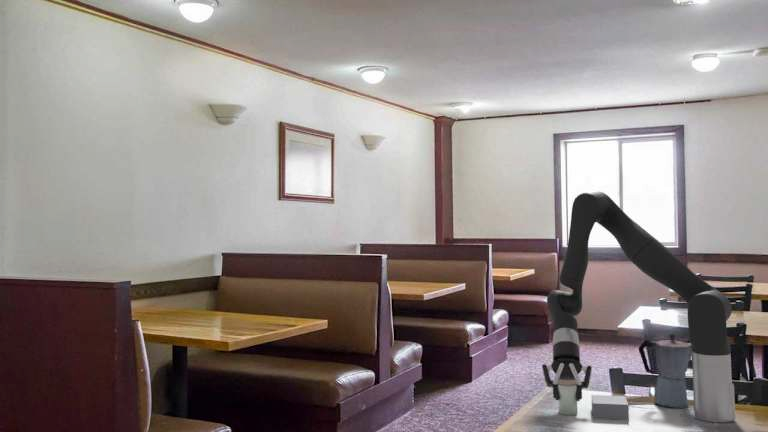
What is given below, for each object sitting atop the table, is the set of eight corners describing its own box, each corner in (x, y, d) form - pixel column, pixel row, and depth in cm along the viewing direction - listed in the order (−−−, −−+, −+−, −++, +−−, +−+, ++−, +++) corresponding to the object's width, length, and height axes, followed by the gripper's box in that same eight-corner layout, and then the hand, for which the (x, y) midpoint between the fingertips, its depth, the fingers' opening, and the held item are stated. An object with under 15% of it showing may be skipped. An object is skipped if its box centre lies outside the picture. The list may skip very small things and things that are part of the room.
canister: (577, 410, 185) (576, 378, 185) (578, 415, 180) (576, 382, 180) (558, 409, 186) (557, 377, 187) (558, 414, 181) (557, 381, 182)
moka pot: (703, 409, 182) (700, 337, 183) (644, 408, 185) (641, 336, 186) (694, 400, 192) (691, 331, 192) (638, 399, 195) (635, 331, 195)
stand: (625, 410, 183) (625, 396, 184) (628, 419, 175) (628, 404, 175) (591, 409, 186) (591, 394, 186) (593, 418, 177) (592, 403, 177)
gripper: (540, 339, 193) (540, 391, 181) (591, 340, 189) (595, 393, 177) (541, 354, 198) (541, 405, 186) (591, 355, 194) (595, 407, 182)
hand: (567, 399), depth 181 cm, fingers closed on canister, 5 cm apart
